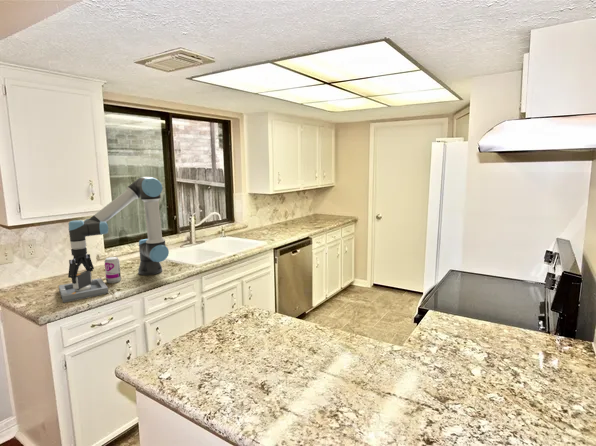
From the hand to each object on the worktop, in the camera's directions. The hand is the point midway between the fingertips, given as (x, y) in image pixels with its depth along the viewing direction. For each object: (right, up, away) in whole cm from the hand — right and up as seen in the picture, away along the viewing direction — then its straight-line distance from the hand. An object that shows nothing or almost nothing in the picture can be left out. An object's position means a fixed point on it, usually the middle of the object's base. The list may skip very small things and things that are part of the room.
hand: (82, 285), depth 211 cm
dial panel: (0, -4, +1) cm, 4 cm away
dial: (0, -3, 0) cm, 3 cm away
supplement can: (+8, -1, +20) cm, 22 cm away
